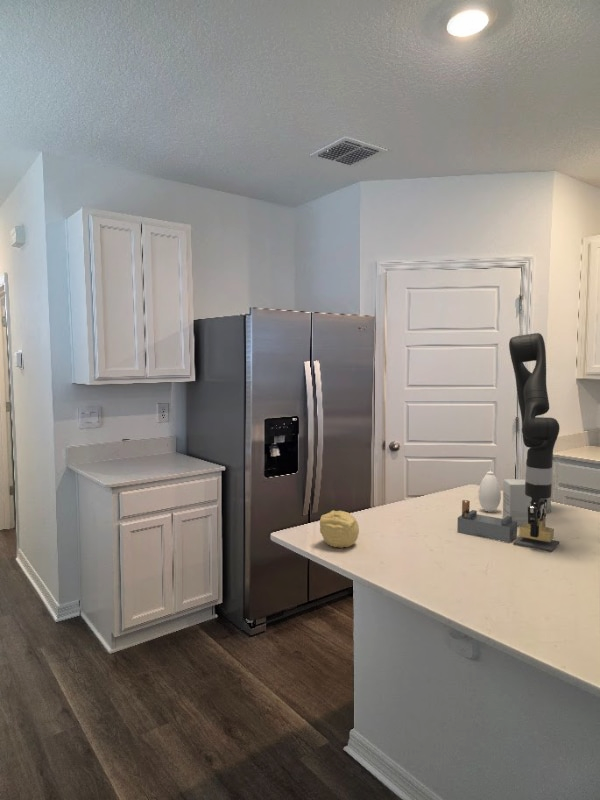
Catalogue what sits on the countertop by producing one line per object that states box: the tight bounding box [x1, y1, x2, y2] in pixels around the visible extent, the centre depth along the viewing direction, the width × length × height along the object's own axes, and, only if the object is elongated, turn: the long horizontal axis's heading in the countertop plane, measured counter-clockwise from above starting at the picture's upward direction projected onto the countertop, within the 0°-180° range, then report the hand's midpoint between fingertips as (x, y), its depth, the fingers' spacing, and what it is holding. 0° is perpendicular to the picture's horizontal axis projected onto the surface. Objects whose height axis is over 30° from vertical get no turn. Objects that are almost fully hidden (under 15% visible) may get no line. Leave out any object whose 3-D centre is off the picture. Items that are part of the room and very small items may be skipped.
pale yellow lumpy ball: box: [319, 510, 360, 549], centre depth 164 cm, size 12×12×11 cm
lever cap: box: [518, 517, 555, 542], centre depth 166 cm, size 5×9×6 cm, turn 52°
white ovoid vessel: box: [478, 464, 502, 513], centre depth 202 cm, size 8×8×18 cm
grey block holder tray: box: [456, 499, 518, 544], centre depth 175 cm, size 8×17×10 cm, turn 52°
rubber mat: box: [512, 536, 560, 553], centre depth 166 cm, size 10×11×1 cm
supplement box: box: [502, 478, 532, 527], centre depth 188 cm, size 9×9×15 cm
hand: (536, 534), depth 166 cm, fingers closed on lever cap, 5 cm apart
